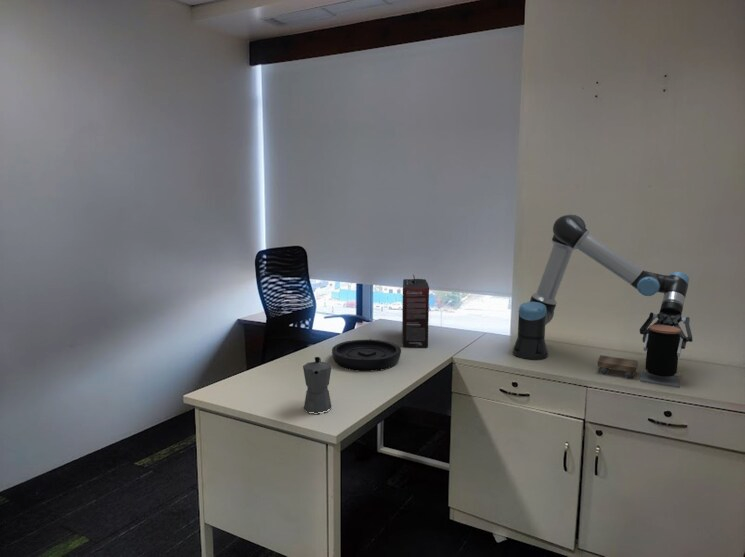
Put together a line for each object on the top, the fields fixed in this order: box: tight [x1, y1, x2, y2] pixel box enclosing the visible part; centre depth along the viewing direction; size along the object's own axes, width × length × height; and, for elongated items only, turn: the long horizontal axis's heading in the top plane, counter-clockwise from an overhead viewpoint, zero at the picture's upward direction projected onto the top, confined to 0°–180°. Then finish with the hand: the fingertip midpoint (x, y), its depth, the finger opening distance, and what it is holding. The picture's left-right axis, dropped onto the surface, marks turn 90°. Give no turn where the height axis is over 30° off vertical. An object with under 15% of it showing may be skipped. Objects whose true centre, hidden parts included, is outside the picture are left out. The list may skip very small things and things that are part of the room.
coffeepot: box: [302, 356, 333, 413], centre depth 164 cm, size 15×9×18 cm, turn 3°
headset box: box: [401, 274, 430, 348], centre depth 243 cm, size 25×12×33 cm, turn 178°
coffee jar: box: [644, 324, 682, 377], centre depth 191 cm, size 11×11×18 cm
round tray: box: [331, 339, 402, 372], centre depth 214 cm, size 30×6×30 cm
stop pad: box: [639, 370, 680, 389], centre depth 193 cm, size 13×12×1 cm
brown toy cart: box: [597, 354, 638, 380], centre depth 200 cm, size 14×10×5 cm
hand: (661, 352), depth 189 cm, fingers closed on coffee jar, 11 cm apart
